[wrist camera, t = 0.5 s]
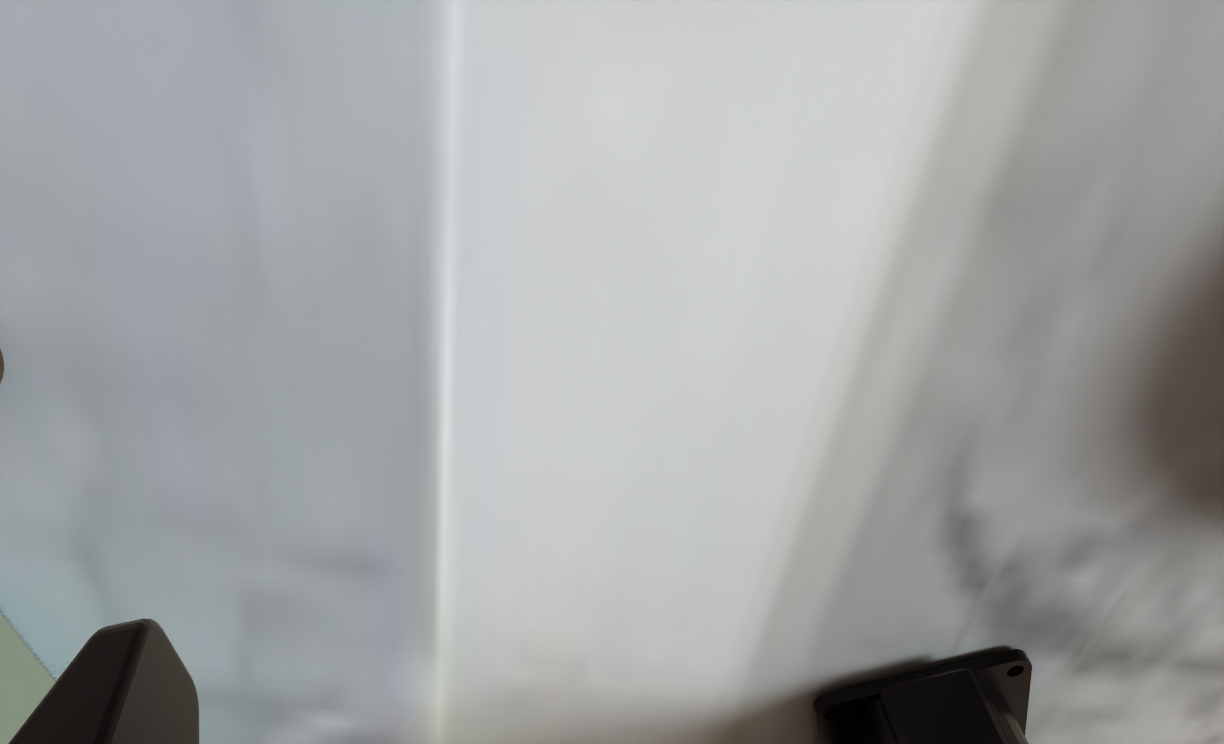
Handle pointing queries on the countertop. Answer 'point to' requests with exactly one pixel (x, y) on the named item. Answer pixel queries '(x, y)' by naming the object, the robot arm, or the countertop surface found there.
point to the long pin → (1, 366)
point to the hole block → (18, 682)
